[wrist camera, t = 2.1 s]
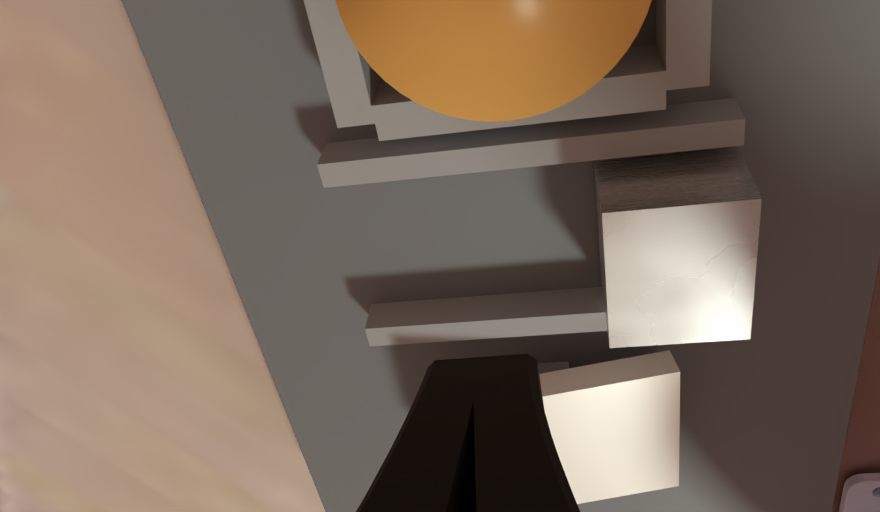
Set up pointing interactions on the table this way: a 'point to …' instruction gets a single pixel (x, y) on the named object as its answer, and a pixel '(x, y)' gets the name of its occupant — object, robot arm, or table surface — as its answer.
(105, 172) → the table surface
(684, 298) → the pale beige block
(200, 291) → the table surface
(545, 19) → the push button
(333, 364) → the control panel
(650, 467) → the plate
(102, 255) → the table surface
